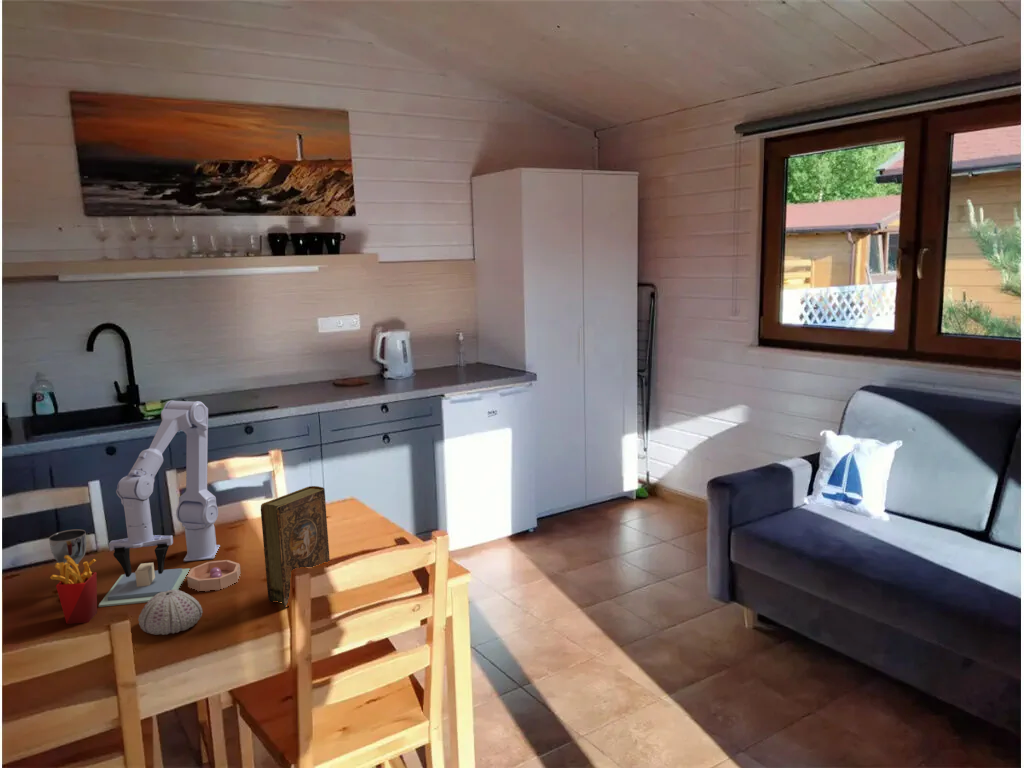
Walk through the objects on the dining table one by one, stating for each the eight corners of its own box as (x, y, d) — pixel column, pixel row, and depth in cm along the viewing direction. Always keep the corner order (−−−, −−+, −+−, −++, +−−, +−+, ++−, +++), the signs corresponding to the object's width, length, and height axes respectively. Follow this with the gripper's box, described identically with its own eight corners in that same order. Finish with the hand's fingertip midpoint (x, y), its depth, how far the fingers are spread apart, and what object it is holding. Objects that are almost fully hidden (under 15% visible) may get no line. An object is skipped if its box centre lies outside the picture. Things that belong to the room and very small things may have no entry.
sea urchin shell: (146, 616, 182) (143, 584, 180) (208, 609, 184) (204, 577, 183) (133, 644, 169) (128, 609, 167) (199, 635, 172) (195, 601, 170)
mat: (121, 576, 204) (121, 574, 204) (190, 570, 207) (189, 568, 207) (98, 607, 187) (98, 605, 187) (173, 599, 190) (173, 597, 190)
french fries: (103, 610, 185) (95, 550, 182) (88, 626, 177) (80, 564, 174) (63, 613, 184) (55, 553, 181) (47, 630, 176) (38, 567, 173)
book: (319, 578, 199) (312, 485, 195) (334, 583, 196) (327, 488, 192) (268, 604, 186) (259, 504, 181) (284, 609, 183) (275, 508, 178)
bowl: (195, 573, 205) (194, 563, 204) (242, 569, 207) (241, 558, 206) (184, 593, 193) (183, 582, 192) (235, 588, 195) (234, 577, 194)
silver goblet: (56, 601, 191) (48, 543, 188) (57, 589, 198) (49, 533, 195) (92, 593, 194) (85, 536, 192) (93, 582, 201) (85, 527, 199)
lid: (125, 577, 203) (123, 558, 202) (182, 571, 205) (180, 553, 204) (107, 600, 189) (105, 581, 188) (168, 594, 191) (166, 575, 190)
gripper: (102, 530, 189) (109, 583, 191) (165, 525, 191) (171, 577, 194) (111, 521, 196) (118, 571, 198) (172, 515, 198) (178, 566, 201)
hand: (145, 573), depth 196 cm, fingers open, 7 cm apart
